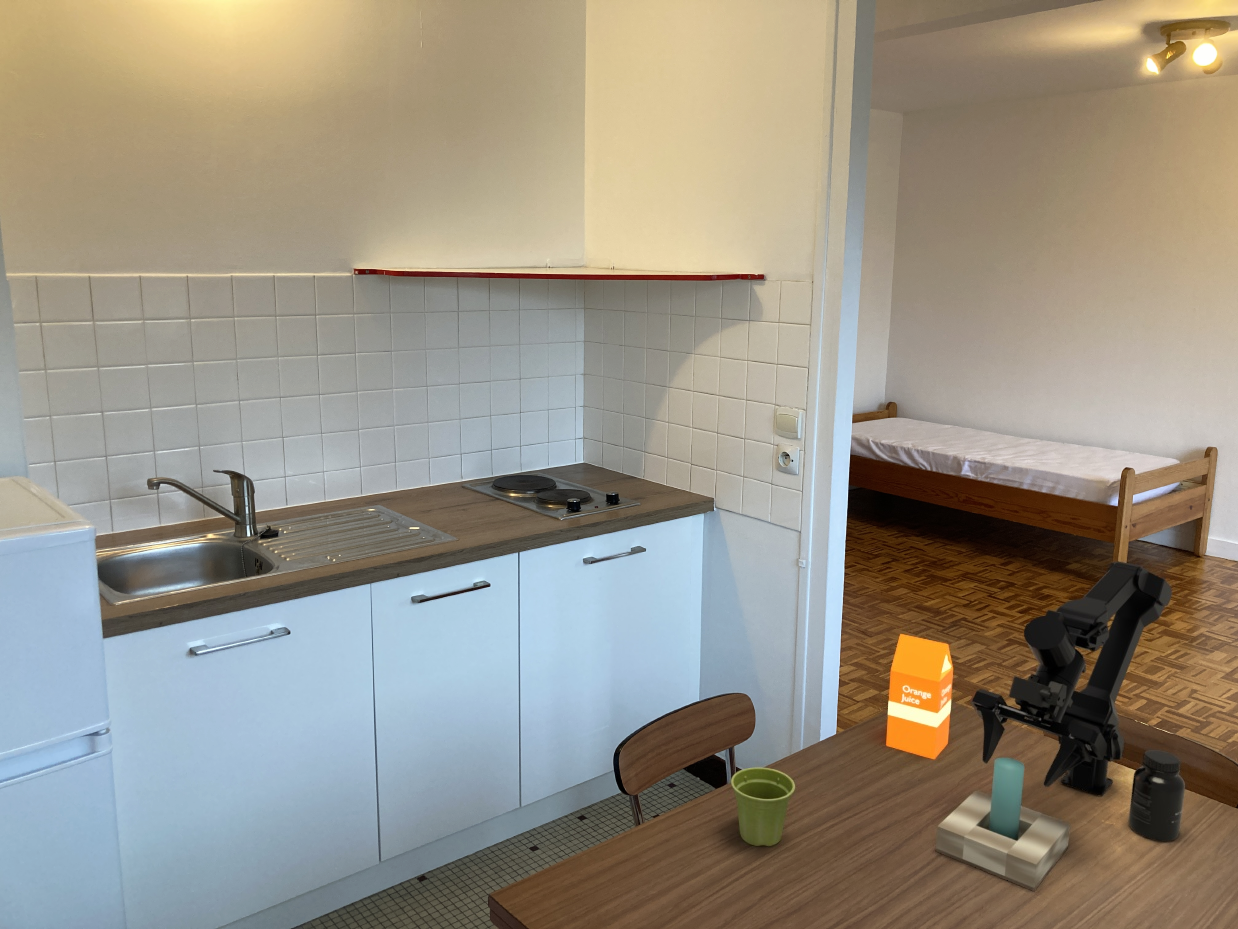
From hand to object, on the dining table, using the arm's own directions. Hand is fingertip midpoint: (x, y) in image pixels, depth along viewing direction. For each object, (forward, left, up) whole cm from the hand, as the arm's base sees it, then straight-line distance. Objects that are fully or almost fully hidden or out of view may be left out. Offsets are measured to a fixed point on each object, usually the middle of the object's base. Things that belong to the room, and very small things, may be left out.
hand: (1014, 773), depth 141 cm
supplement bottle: (-19, +15, -12) cm, 27 cm away
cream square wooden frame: (+2, 0, -11) cm, 11 cm away
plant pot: (+23, -28, -12) cm, 38 cm away
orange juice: (-21, -24, -12) cm, 34 cm away
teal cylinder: (+2, 0, -11) cm, 11 cm away
